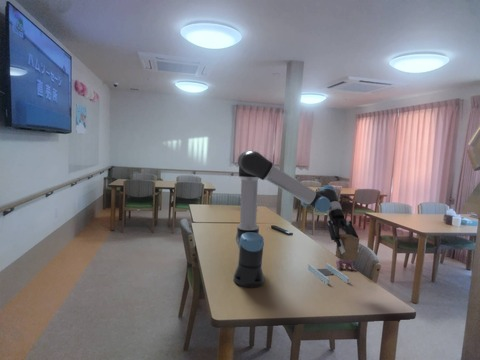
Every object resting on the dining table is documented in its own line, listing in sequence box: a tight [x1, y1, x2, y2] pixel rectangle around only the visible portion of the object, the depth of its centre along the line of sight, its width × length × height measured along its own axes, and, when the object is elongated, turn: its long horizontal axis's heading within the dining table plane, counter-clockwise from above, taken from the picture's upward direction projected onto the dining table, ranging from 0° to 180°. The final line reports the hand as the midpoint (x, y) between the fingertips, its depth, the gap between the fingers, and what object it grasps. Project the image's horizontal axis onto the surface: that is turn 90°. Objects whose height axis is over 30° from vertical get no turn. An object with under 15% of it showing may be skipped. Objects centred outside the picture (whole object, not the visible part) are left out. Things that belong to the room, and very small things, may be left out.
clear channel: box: [307, 262, 350, 285], centre depth 167 cm, size 20×13×3 cm, turn 17°
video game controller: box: [335, 258, 355, 272], centre depth 180 cm, size 10×5×7 cm, turn 93°
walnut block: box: [335, 233, 360, 262], centre depth 150 cm, size 7×7×11 cm
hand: (350, 252), depth 147 cm, fingers closed on walnut block, 7 cm apart
